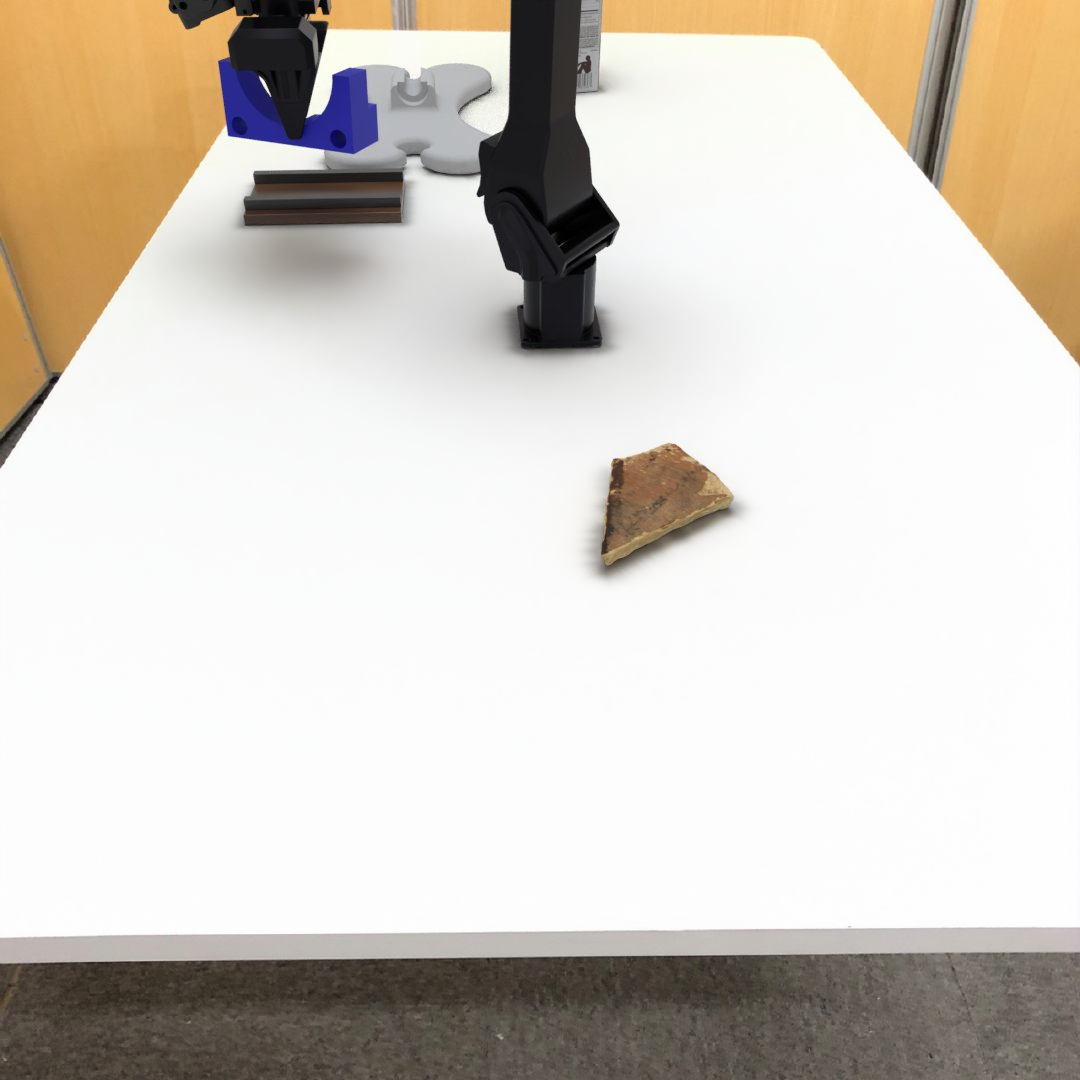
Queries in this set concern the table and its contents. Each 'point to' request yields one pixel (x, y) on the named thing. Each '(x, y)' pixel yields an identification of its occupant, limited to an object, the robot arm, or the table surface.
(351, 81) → the blue cradle block
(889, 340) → the table surface
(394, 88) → the holder
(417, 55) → the table surface
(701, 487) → the shard
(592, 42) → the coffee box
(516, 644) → the table surface
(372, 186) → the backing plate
